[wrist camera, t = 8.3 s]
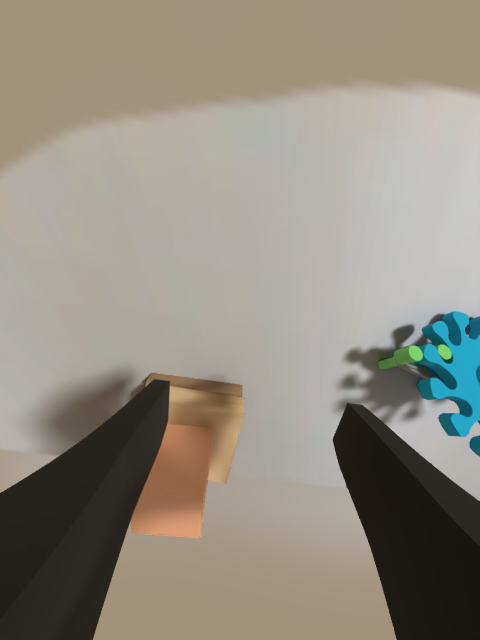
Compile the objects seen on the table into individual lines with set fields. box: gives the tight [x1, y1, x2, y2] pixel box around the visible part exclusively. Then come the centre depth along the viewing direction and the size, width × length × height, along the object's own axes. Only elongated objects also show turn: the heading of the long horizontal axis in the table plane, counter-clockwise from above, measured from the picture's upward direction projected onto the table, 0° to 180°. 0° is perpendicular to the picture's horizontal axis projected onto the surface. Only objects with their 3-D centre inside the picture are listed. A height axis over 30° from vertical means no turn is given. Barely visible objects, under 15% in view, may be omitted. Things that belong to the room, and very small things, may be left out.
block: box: [131, 424, 213, 538], centre depth 18 cm, size 4×4×5 cm
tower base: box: [145, 373, 242, 397], centre depth 23 cm, size 8×8×2 cm
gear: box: [378, 312, 480, 456], centre depth 19 cm, size 11×6×10 cm
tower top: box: [145, 383, 244, 483], centre depth 21 cm, size 8×8×2 cm
